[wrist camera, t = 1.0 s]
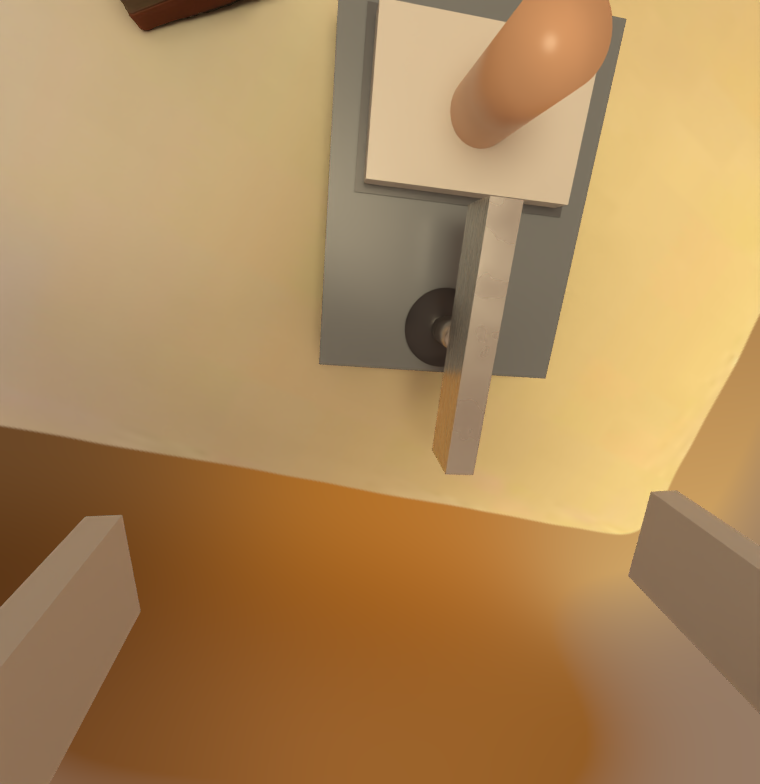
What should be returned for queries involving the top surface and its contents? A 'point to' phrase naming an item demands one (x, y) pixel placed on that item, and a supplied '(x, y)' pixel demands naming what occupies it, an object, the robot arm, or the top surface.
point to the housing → (432, 231)
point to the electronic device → (168, 10)
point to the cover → (484, 98)
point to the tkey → (474, 329)
